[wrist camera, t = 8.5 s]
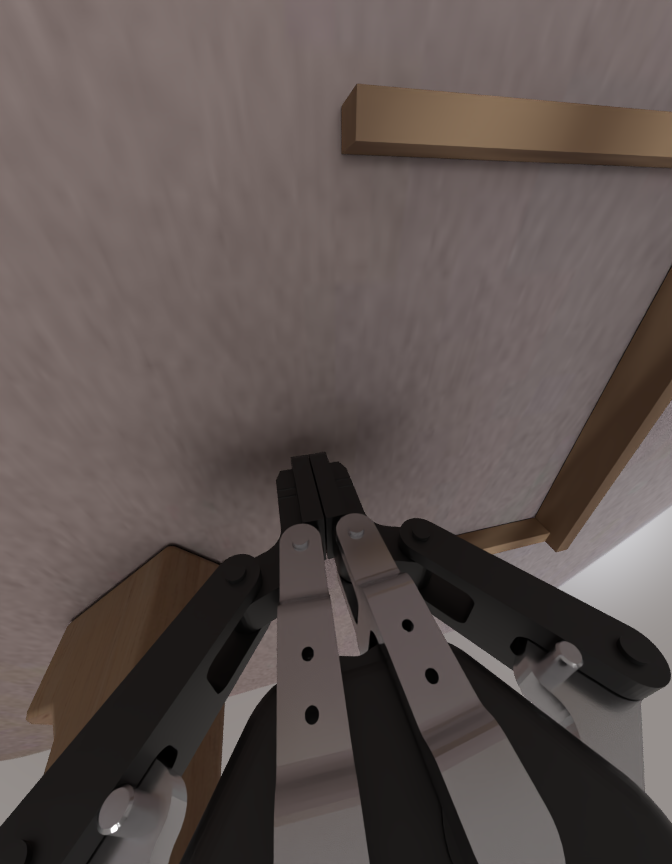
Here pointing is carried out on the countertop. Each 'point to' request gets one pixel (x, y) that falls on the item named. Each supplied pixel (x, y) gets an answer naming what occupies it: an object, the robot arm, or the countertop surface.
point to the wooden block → (128, 666)
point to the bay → (550, 143)
